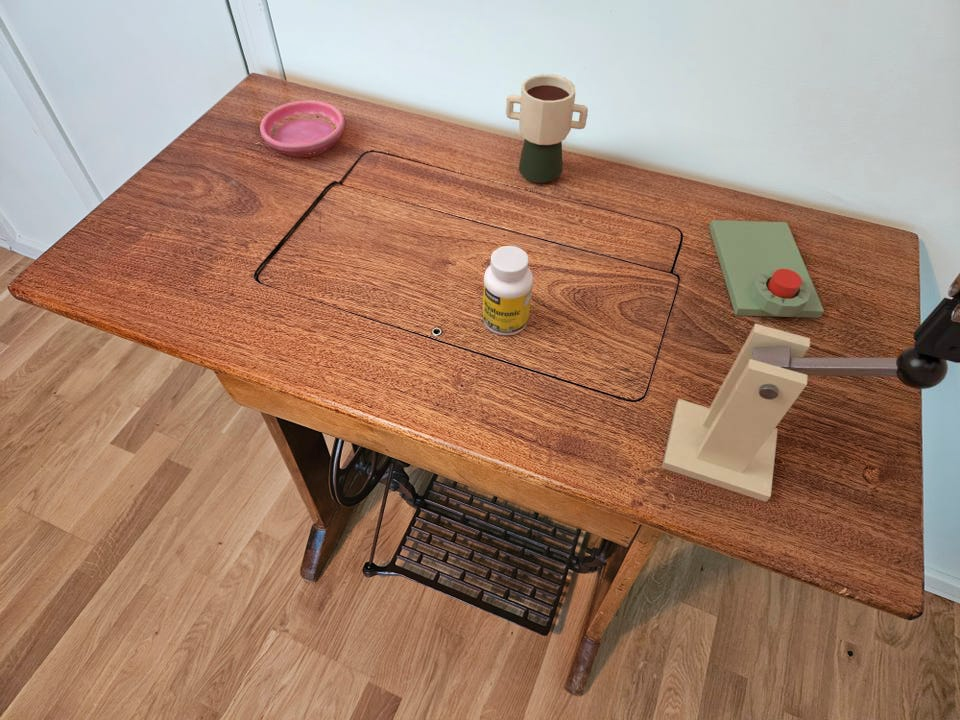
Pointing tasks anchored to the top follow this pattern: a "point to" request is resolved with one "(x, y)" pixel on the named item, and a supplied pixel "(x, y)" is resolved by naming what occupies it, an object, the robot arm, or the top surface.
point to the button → (784, 283)
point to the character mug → (545, 124)
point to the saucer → (303, 128)
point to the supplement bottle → (507, 291)
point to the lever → (861, 366)
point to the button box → (762, 268)
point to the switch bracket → (738, 420)
